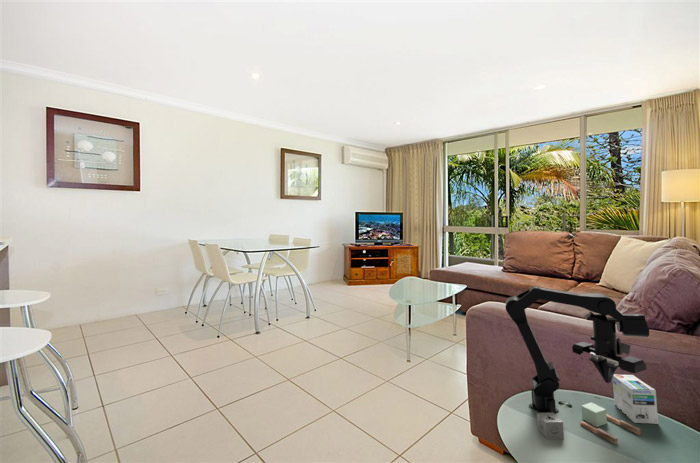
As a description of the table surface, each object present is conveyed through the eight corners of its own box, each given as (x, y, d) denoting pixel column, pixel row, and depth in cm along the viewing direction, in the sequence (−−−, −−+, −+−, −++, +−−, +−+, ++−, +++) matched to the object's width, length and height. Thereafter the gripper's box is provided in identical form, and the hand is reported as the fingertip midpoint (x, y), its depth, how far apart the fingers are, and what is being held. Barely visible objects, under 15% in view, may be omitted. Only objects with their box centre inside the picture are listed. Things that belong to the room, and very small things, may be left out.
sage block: (582, 419, 103) (581, 405, 103) (592, 415, 104) (591, 402, 104) (596, 427, 99) (595, 412, 99) (607, 423, 100) (605, 409, 100)
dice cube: (546, 439, 95) (545, 422, 95) (537, 428, 100) (536, 412, 100) (563, 438, 95) (562, 422, 95) (554, 428, 100) (553, 412, 100)
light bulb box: (659, 424, 98) (657, 389, 98) (634, 423, 99) (631, 389, 99) (635, 405, 108) (633, 374, 108) (613, 404, 110) (611, 373, 110)
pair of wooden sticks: (580, 424, 100) (580, 420, 100) (604, 416, 104) (604, 411, 104) (615, 444, 91) (615, 439, 91) (640, 434, 94) (640, 429, 94)
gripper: (656, 338, 95) (660, 390, 95) (592, 322, 113) (595, 366, 113) (631, 345, 92) (635, 398, 92) (569, 327, 109) (572, 372, 109)
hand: (607, 382), depth 101 cm, fingers closed
